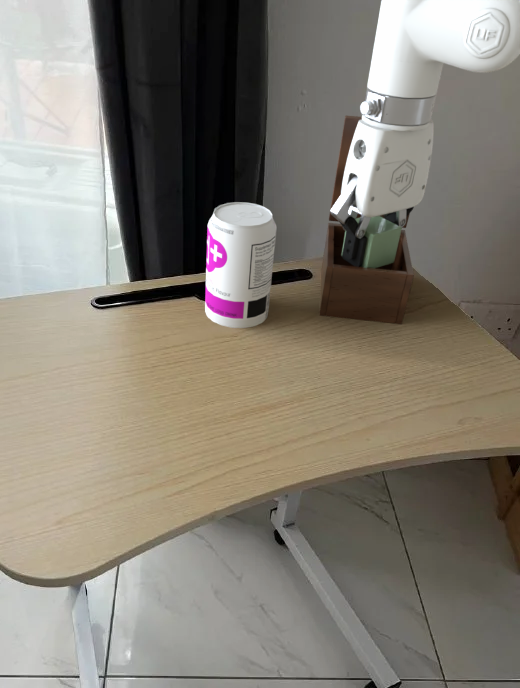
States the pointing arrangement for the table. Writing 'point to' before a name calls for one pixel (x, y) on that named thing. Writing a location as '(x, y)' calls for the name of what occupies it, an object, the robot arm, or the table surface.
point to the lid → (346, 141)
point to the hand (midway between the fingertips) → (368, 256)
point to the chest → (364, 283)
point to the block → (380, 242)
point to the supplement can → (239, 264)
